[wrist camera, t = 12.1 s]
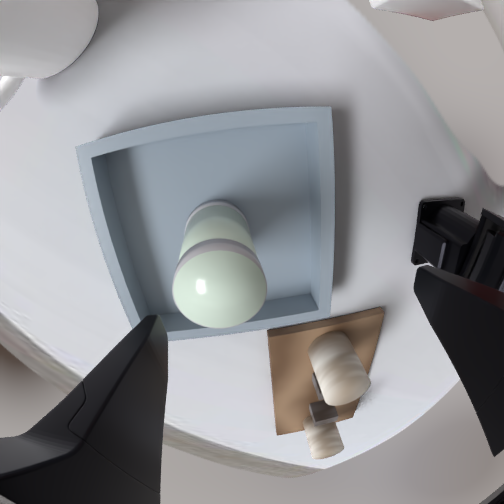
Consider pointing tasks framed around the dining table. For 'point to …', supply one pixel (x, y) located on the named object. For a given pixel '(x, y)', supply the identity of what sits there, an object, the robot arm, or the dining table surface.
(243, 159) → the tray
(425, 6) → the medicine bottle
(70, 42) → the mug
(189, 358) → the dining table surface
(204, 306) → the cylinder
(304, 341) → the fuse rack
